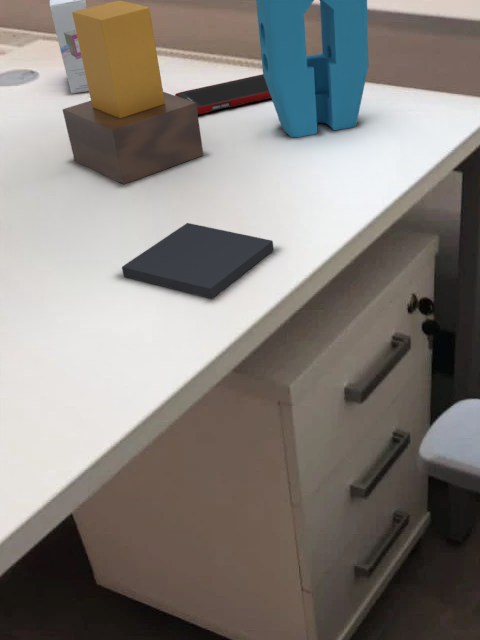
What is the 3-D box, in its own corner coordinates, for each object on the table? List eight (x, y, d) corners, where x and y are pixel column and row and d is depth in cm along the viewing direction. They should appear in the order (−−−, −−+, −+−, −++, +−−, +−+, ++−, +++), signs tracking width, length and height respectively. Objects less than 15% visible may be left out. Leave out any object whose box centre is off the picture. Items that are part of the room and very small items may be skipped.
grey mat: (212, 298, 76) (210, 288, 76) (123, 276, 81) (121, 266, 80) (273, 250, 83) (273, 240, 82) (188, 232, 87) (187, 222, 86)
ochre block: (120, 118, 97) (100, 19, 90) (92, 107, 100) (71, 11, 94) (165, 104, 99) (149, 7, 93) (136, 93, 103) (119, 0, 97)
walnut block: (123, 184, 98) (112, 130, 94) (74, 160, 104) (62, 109, 101) (203, 155, 103) (196, 102, 99) (151, 134, 110) (143, 84, 106)
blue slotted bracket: (357, 111, 111) (352, -72, 98) (372, 123, 107) (368, -65, 95) (266, 127, 109) (248, -58, 96) (277, 140, 105) (260, -50, 92)
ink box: (67, 77, 131) (48, -11, 124) (101, 73, 132) (84, -15, 125) (69, 94, 125) (48, 2, 117) (105, 89, 125) (86, -2, 118)
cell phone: (296, 93, 118) (295, 85, 117) (193, 116, 113) (192, 108, 113) (272, 79, 123) (271, 72, 123) (173, 101, 119) (172, 93, 118)
